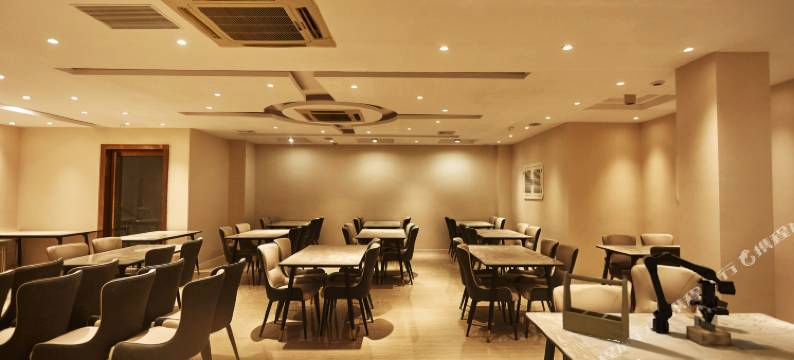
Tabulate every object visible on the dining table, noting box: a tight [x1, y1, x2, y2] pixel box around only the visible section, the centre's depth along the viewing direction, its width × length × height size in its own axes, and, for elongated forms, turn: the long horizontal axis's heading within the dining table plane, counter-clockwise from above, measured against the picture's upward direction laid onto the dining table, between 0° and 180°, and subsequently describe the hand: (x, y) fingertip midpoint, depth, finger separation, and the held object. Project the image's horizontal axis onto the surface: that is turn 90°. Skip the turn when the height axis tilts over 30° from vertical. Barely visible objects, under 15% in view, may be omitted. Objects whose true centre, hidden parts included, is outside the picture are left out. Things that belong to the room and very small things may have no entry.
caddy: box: [561, 270, 630, 344], centre depth 204 cm, size 29×11×30 cm, turn 47°
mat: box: [731, 339, 770, 350], centre depth 190 cm, size 13×10×1 cm
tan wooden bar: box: [685, 312, 705, 323], centre depth 207 cm, size 2×13×2 cm, turn 0°
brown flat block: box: [685, 327, 732, 347], centre depth 194 cm, size 14×10×5 cm
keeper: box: [693, 316, 704, 326], centre depth 204 cm, size 5×3×9 cm, turn 90°
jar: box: [696, 305, 719, 328], centre depth 218 cm, size 9×8×12 cm
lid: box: [685, 321, 732, 336], centre depth 194 cm, size 14×10×5 cm
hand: (708, 324), depth 199 cm, fingers closed
